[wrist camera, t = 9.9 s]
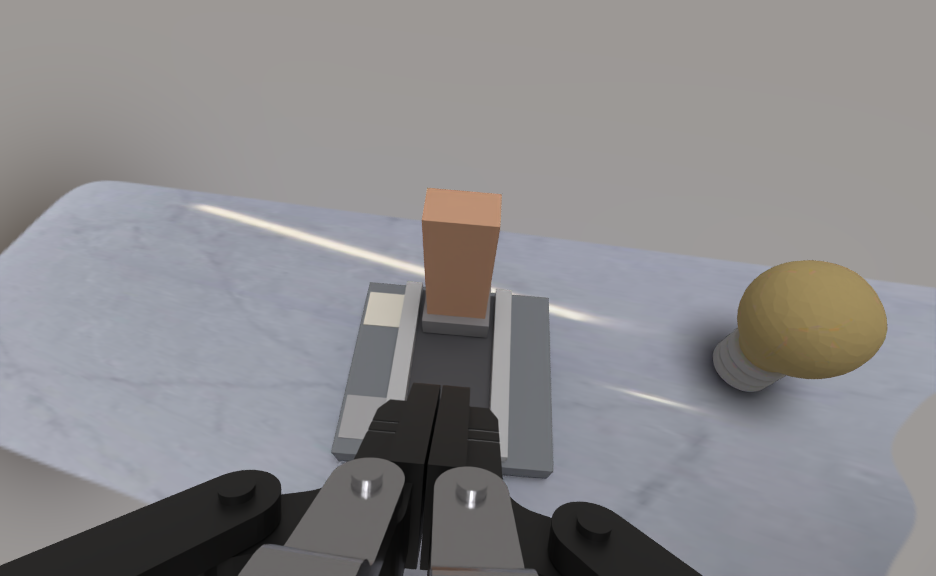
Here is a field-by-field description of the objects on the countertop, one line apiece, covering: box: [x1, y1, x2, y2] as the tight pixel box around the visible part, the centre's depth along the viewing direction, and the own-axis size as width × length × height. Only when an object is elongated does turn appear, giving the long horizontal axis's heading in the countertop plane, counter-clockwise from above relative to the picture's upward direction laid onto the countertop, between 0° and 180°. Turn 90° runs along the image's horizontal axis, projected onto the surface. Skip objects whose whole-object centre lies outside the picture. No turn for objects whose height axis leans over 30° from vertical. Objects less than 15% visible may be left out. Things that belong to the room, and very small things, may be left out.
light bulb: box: [713, 260, 887, 392], centre depth 26 cm, size 6×6×10 cm
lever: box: [422, 188, 502, 338], centre depth 25 cm, size 4×3×10 cm
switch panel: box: [331, 281, 553, 478], centre depth 28 cm, size 12×11×3 cm
